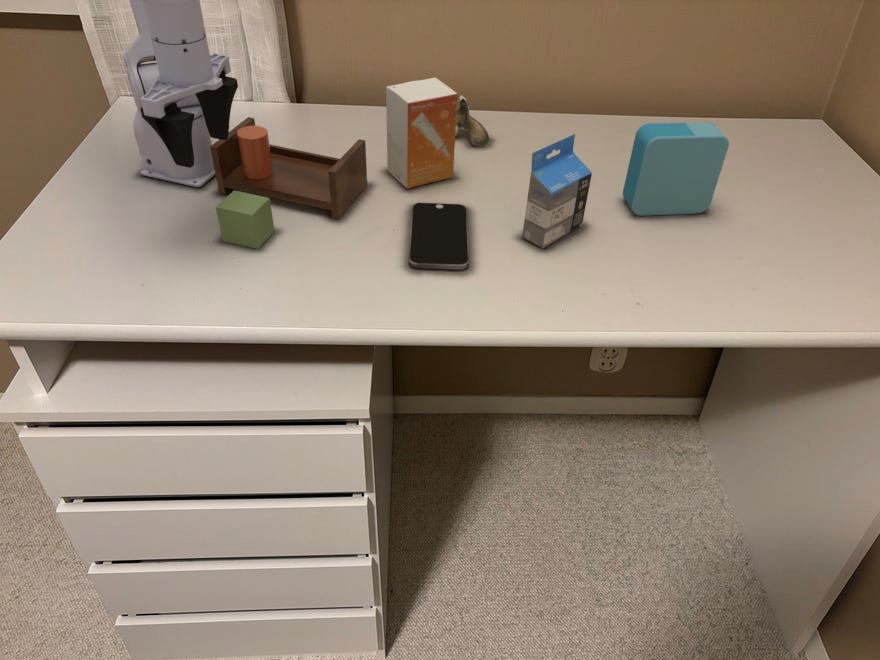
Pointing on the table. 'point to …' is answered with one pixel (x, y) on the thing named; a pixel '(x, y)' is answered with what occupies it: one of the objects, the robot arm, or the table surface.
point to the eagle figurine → (470, 125)
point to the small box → (420, 131)
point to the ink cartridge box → (555, 194)
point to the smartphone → (439, 236)
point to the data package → (674, 168)
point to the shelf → (295, 174)
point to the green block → (245, 219)
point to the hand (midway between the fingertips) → (202, 151)
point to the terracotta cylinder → (255, 152)
